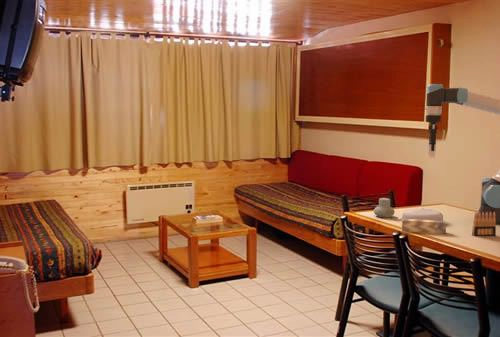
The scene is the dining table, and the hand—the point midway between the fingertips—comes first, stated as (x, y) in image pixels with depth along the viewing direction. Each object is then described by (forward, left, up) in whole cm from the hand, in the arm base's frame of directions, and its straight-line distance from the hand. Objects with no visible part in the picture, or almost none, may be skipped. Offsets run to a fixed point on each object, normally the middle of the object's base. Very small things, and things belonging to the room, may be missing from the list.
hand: (431, 156), depth 281 cm
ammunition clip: (-24, +24, -35) cm, 49 cm away
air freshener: (+23, -6, -35) cm, 42 cm away
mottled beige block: (+3, +25, -35) cm, 43 cm away
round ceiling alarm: (+3, +1, -35) cm, 35 cm away
